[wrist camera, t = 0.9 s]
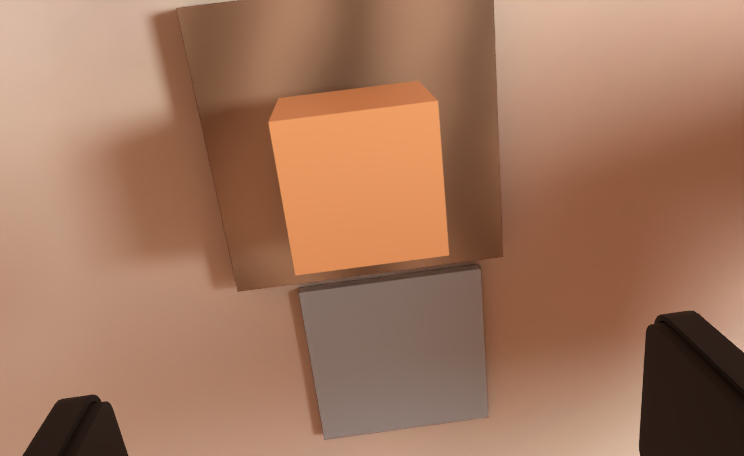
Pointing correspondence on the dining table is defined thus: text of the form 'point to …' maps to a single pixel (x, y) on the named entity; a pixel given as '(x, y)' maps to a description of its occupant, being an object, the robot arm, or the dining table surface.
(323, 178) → the orange bevelled cube
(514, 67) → the dining table surface
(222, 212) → the post stand
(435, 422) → the rubber pad
